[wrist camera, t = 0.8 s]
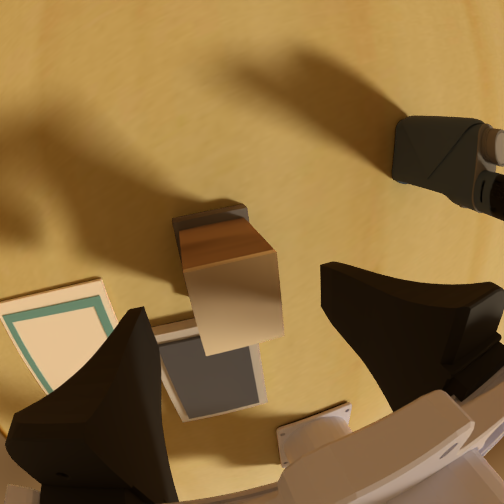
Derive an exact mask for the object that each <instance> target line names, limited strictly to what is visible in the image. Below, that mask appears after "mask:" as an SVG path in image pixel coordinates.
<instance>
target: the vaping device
mask: <svg viewBox="0 0 504 504" xmlns="http://www.w3.org/2000/svg"><path fill="white" fill-rule="evenodd" d="M496 165H498V166H502V167H503V166H504V130H501V129H493V127H492V126H491V125H489V124H485V123H484V122H482V121H481V120H478V119H474V118H461V117H443V116H409V117H406V118H405V119H403V120H401V121H399V123H398V124H397V127H396V137H395V149H394V159H393V169H392V177H393V180H396V181H397V182H399V183H402V184H411V185H415V186H419V187H422V188H426V189H429V190H432V191H436V192H439V193H442V194H444V195H445V196H447V197H448V198H449V199H450V200H451V201H452V202H453V203H455V204H457V205H459V206H460V207H463V208H469V209H472V210H474V211H477V212H478V213H485V214H487V215H490V216H493V217H495V218H498V219H500V220H503V221H504V175H502V174H499V173H495V171H496Z"/></svg>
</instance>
